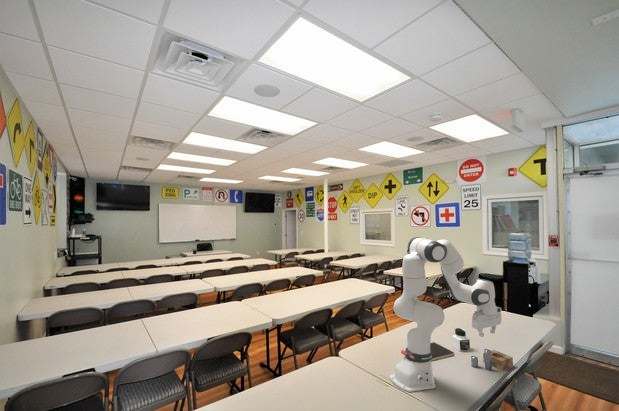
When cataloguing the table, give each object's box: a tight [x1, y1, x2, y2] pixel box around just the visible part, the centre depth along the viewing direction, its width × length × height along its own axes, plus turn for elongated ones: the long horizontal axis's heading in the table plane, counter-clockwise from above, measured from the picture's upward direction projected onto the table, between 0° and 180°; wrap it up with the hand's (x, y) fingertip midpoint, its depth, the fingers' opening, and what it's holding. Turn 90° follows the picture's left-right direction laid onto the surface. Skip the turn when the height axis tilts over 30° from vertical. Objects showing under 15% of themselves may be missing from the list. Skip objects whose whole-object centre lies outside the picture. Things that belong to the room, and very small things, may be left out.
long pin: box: [483, 348, 493, 372], centre depth 149 cm, size 3×3×10 cm
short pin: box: [470, 355, 479, 369], centre depth 151 cm, size 3×3×5 cm
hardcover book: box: [405, 341, 455, 362], centre depth 167 cm, size 16×23×2 cm
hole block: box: [482, 349, 514, 372], centre depth 154 cm, size 10×10×5 cm
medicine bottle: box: [451, 327, 471, 352], centre depth 173 cm, size 7×7×12 cm
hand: (487, 334), depth 150 cm, fingers open, 8 cm apart
